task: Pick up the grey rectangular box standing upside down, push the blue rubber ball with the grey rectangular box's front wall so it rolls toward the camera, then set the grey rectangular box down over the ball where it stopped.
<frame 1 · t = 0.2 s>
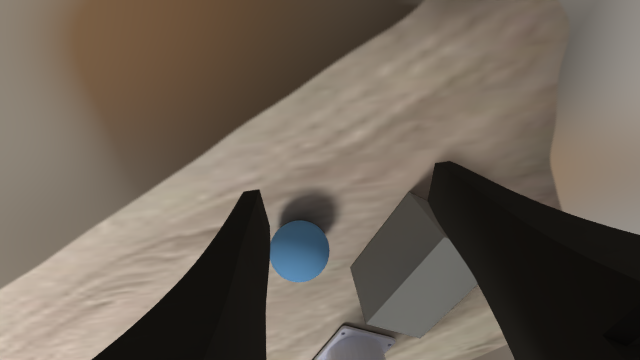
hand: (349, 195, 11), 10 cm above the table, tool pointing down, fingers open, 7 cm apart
grey rectangular box: (401, 242, 27), on the table
ball: (299, 250, 23), on the table
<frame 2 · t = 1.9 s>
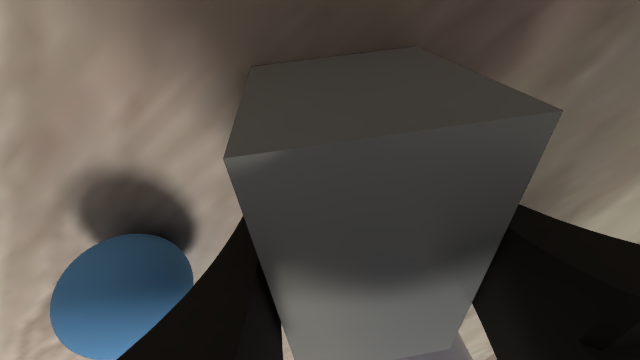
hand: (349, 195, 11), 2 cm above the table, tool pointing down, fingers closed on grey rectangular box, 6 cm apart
grey rectangular box: (340, 171, 13), on the table, touching gripper
ball: (130, 291, 12), on the table
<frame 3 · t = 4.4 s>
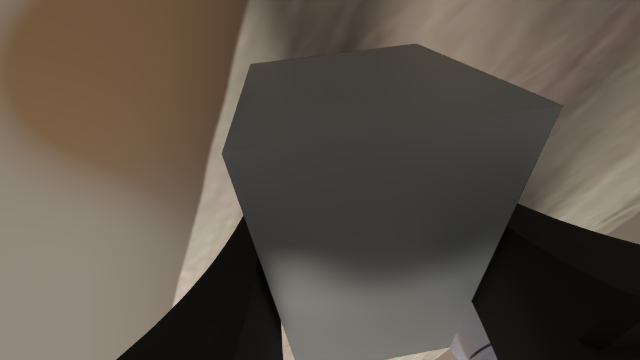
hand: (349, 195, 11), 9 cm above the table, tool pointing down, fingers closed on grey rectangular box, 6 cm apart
grey rectangular box: (340, 169, 13), point 7 cm above the table, touching gripper
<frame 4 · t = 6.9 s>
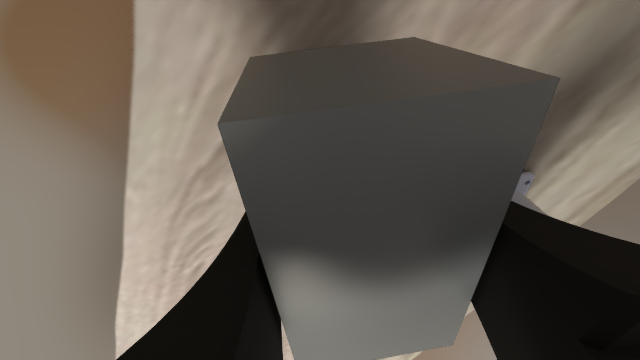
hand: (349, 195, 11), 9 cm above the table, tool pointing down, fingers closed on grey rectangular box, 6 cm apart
grey rectangular box: (340, 165, 13), point 7 cm above the table, touching gripper
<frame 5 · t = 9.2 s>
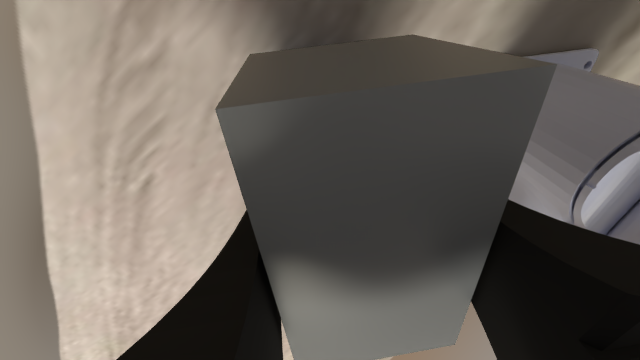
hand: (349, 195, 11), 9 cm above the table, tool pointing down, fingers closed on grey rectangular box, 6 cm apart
grey rectangular box: (339, 163, 13), point 7 cm above the table, touching gripper
when the fingers open (2 cm above the table, at t = 11.0 s): grey rectangular box stays where it is, on the table.
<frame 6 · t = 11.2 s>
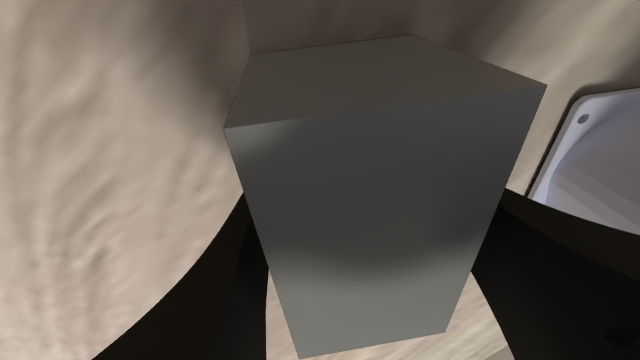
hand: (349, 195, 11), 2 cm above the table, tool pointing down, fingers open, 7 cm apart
grey rectangular box: (338, 159, 13), on the table
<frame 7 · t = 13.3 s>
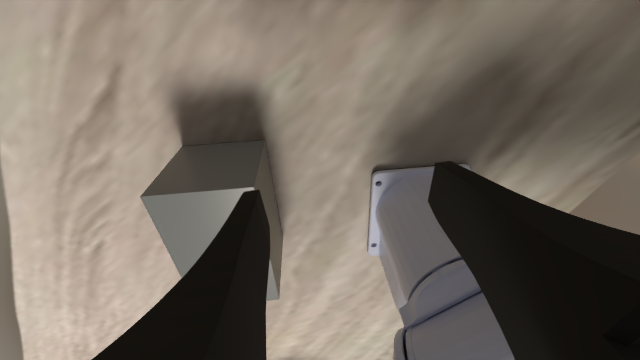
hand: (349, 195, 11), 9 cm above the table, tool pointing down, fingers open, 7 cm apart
grey rectangular box: (238, 198, 22), on the table
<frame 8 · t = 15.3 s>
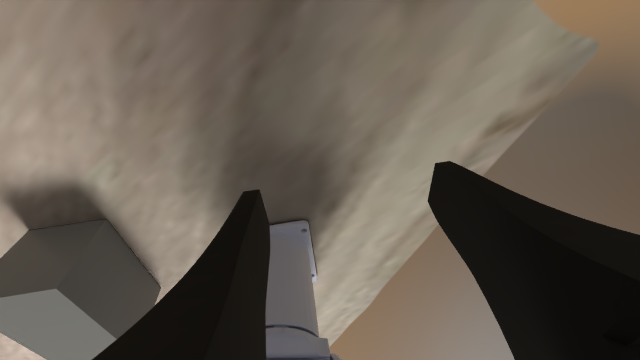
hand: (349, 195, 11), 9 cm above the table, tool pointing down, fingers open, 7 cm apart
grey rectangular box: (103, 263, 24), on the table
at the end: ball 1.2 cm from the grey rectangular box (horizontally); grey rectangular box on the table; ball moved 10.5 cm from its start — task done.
